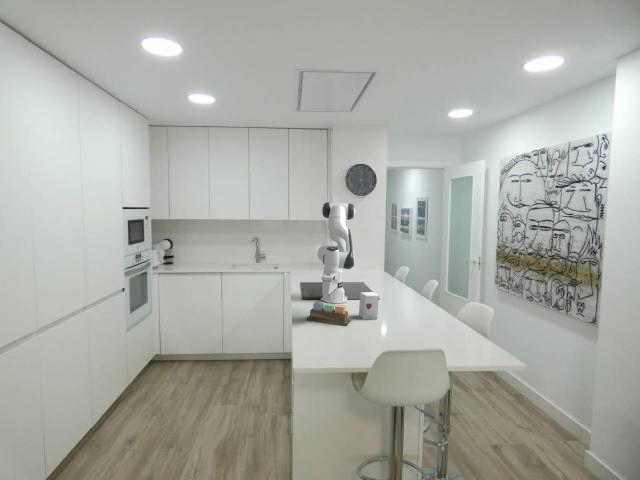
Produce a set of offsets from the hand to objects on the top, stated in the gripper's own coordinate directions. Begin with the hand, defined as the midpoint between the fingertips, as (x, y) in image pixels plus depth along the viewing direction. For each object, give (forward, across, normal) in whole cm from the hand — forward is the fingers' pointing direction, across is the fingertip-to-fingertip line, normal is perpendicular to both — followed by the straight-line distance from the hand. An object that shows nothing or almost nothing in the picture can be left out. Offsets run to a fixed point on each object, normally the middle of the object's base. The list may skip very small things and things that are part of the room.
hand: (329, 298), depth 229 cm
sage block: (+8, 0, 0) cm, 8 cm away
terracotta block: (+8, 0, +7) cm, 11 cm away
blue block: (+9, 0, -7) cm, 11 cm away
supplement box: (+13, -18, +20) cm, 30 cm away
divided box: (+13, 0, 0) cm, 13 cm away
